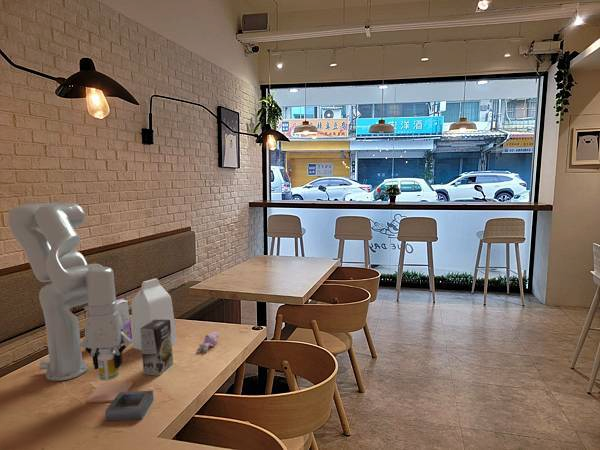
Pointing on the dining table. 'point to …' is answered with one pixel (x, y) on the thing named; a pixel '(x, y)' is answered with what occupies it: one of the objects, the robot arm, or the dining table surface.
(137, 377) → the dining table surface
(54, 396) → the dining table surface
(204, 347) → the rabbit figure
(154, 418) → the dining table surface
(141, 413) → the sleeve
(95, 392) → the pad
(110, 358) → the supplement bottle
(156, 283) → the milk
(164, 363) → the coffee box
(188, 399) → the dining table surface
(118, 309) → the candy box
